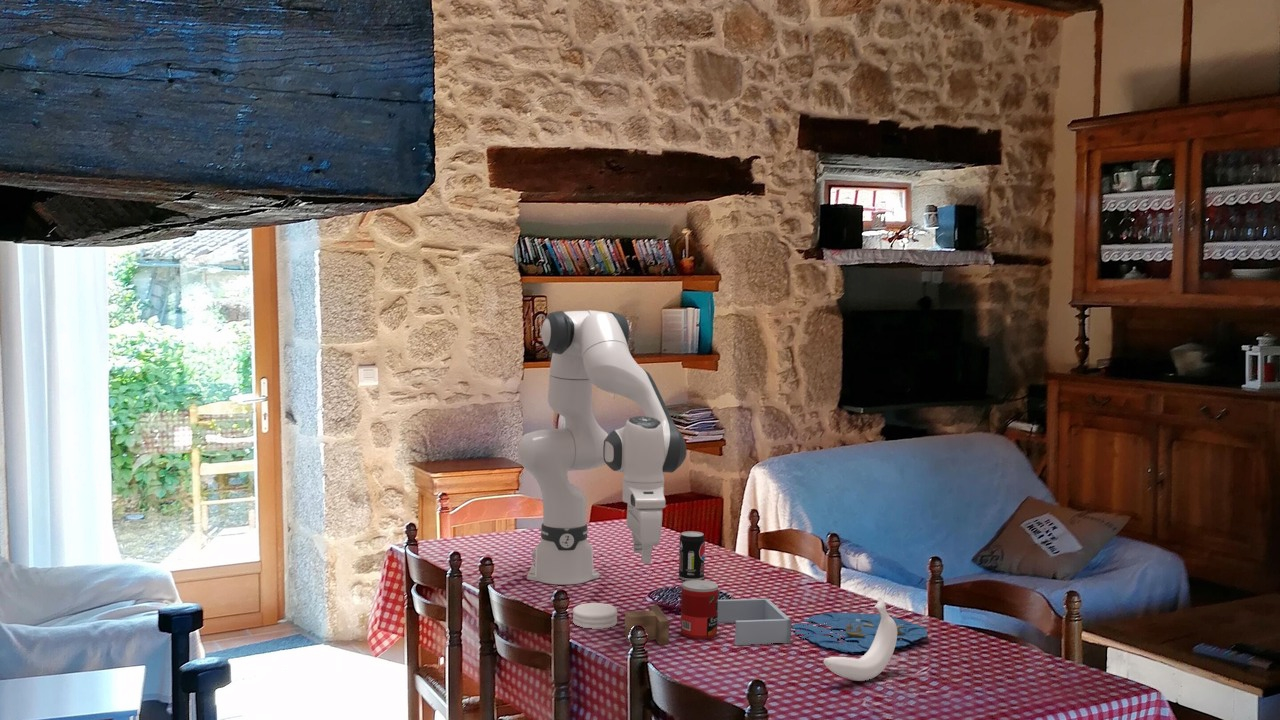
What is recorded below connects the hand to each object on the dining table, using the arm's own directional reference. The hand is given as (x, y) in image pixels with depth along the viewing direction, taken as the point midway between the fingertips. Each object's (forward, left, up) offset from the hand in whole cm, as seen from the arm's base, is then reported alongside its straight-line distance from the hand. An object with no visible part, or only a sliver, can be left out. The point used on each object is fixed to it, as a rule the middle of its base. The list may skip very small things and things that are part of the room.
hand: (641, 557), depth 230 cm
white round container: (-11, -8, -18) cm, 22 cm away
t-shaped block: (0, 0, -17) cm, 17 cm away
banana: (+31, +38, -17) cm, 52 cm away
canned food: (0, +13, -17) cm, 22 cm away
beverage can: (-46, +22, -17) cm, 54 cm away
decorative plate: (+4, +48, -18) cm, 51 cm away
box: (0, +25, -17) cm, 30 cm away
